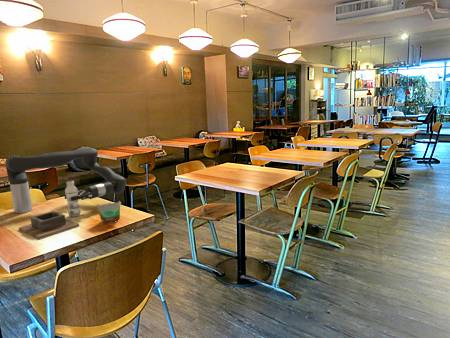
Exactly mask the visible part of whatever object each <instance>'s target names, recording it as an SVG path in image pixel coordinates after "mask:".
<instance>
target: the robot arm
mask: <svg viewBox="0 0 450 338" xmlns="http://www.w3.org/2000/svg"><path fill="white" fill-rule="evenodd" d="M98 154H99V152H98V150H97V149H96V148H92V147H85V148H79V149H74V150H67V151H64V150H63V151H54V152H52V151H51V152H47V153H42V154H38V155H36V156H35V155H34V156H20V155H17V154H13V155H10V156H8V157H7V158H6V160H5V169H6V173H7V178H8V182H9V186H10V187H9V188H10V193H11V200H12V206H13V212H14V213H16V214H23V213H24V214H25V213H28V212H31V211H32V210H33V205H32V200H31V199H32V198H31V193H30V187H29V179H28V176H27V173H26V171H30V170H36V169H51V168H60V167H63V166H66V165H68V164H69V163H71V162H73V161H74V160H77V159H81V163H82V164H83V165H84V166H85V167H87V168H89V169H90V170H92V171H93V172H95V173H96V174H98V175H99V176H101V177H102V178H103V179H104V180H105V181H106V182H102V183H97V184H93V185H89V186H88V185H87V186H86V187H85V188H84V189H81V190H79V189H77V190H78V195H77V196H73V197H71V201H75V200H78V201H79V200H81V201H84V200H87V199H88V200H92V199H96V198H99V197H102V196H105V195H109V194H117V195H118V194H122V193H123V192H124V191H125V188H126V184H127V179H126V178H125V177H123V176H122V175H120V174H118V173H116V172H115V171H114V170H113V169H111V168H109V167H107V166H104V165H103V166H101V165H100V164H99V163H98V162H97V161H98ZM63 197H64V199H65V200H67V197H66V194H65V195H64V196H63Z"/></svg>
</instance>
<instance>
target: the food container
mask: <svg viewBox="0 0 450 338" xmlns="http://www.w3.org/2000/svg"><path fill="white" fill-rule="evenodd" d="M121 206H122V203H121V201H120V200H118V202H108V203H107V202H106V203H104V204H97V205H96V209H98V213H99V217H100V221H102V222H103V224H111V223H110V222H114V223H116V222H115V221H117V222H119V221H120V220H121ZM119 219H120V220H119ZM118 220H119V221H118ZM102 222H101V223H102Z"/></svg>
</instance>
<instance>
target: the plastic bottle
mask: <svg viewBox="0 0 450 338" xmlns="http://www.w3.org/2000/svg"><path fill="white" fill-rule="evenodd" d="M78 190H79V189H78V188H77V187H76V186H75V181H74V180H67V181H66V187H65V189H64V194H65V195H66V197H67V199H66V201H67V214H68V216H69V217H70V218H72V217H78V216H80V215H81V207H80V203H79V199H78V200H75V201H71V197H73V196H77V195H78Z"/></svg>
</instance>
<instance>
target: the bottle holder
mask: <svg viewBox="0 0 450 338" xmlns="http://www.w3.org/2000/svg"><path fill="white" fill-rule="evenodd" d="M77 227H80V223H79V222H75V221H72V220H70V219H68V218H66V215H65V214H63V213H61V212H57V211H55V210H52V211H48V212H44V213H41V214H38V215H34V216H31V217H30V223H29V224H26V225H21V226H19V227H18V231H21V232H23V233H25V234H27V235H29V236H31V237H34V238H35V239H38V240H42V239H45V238H48V237H50V236H53V235H56V234H60V233H62V232H65V231H69V230H71V229H74V228H77Z"/></svg>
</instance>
